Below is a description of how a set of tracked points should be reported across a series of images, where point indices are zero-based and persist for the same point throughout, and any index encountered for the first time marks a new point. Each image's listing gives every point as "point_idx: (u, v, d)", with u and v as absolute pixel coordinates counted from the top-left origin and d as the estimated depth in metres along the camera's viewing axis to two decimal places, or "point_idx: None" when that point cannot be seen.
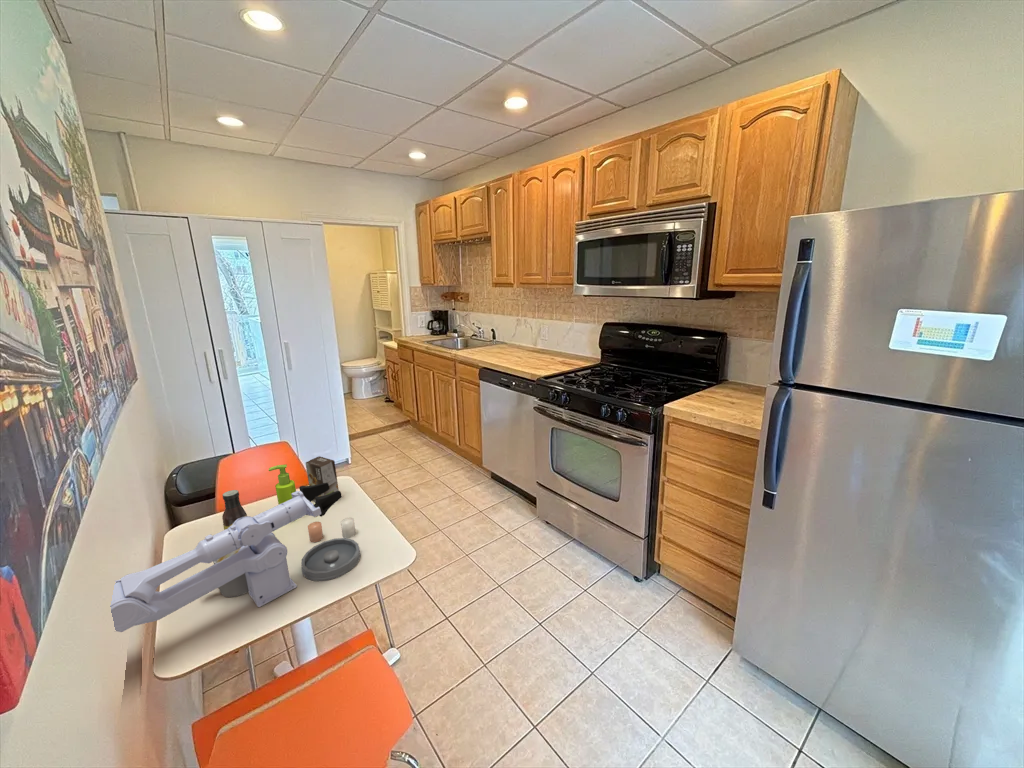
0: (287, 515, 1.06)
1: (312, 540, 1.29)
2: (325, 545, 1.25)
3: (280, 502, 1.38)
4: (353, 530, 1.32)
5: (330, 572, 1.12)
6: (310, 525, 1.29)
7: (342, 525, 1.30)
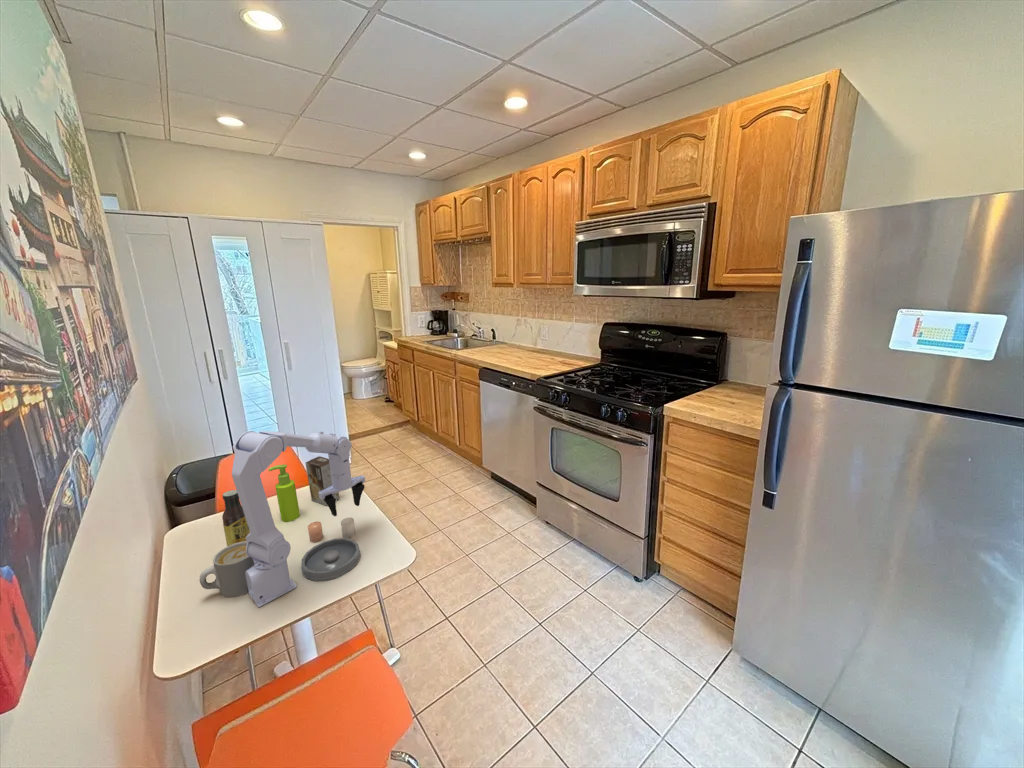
0: (348, 470, 1.26)
1: (312, 540, 1.29)
2: (325, 545, 1.25)
3: (280, 502, 1.38)
4: (353, 530, 1.32)
5: (330, 572, 1.12)
6: (310, 525, 1.29)
7: (342, 525, 1.30)
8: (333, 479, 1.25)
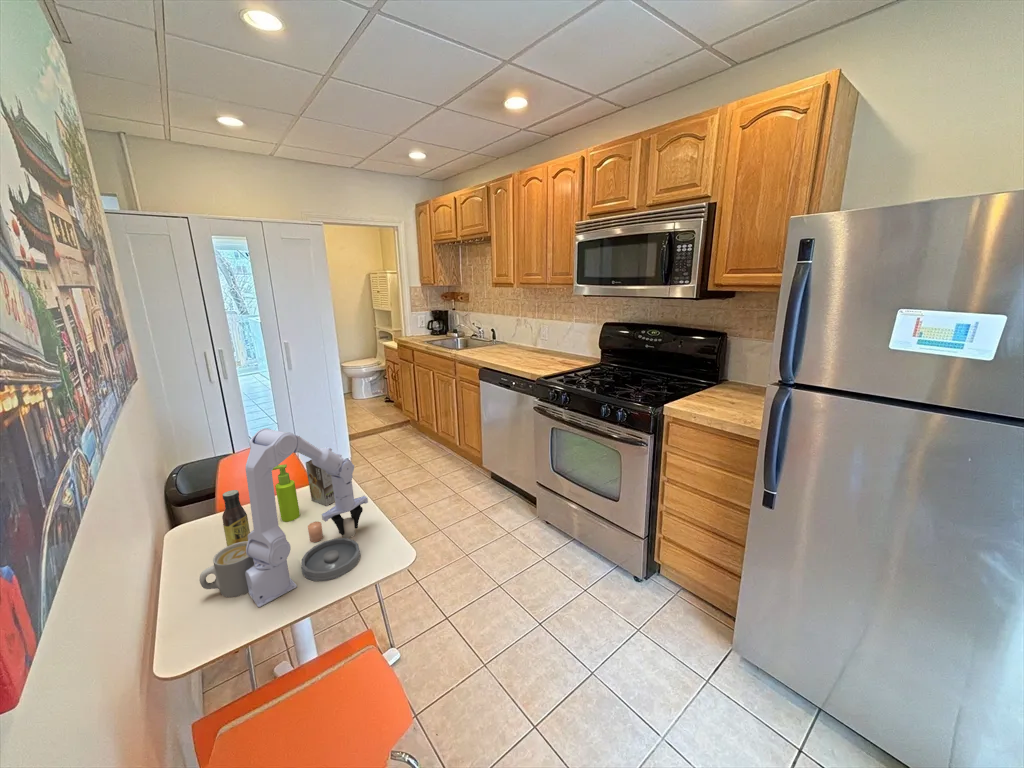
0: (351, 492, 1.28)
1: (312, 540, 1.29)
2: (325, 545, 1.25)
3: (280, 502, 1.38)
4: (353, 530, 1.32)
5: (330, 572, 1.12)
6: (310, 525, 1.29)
7: None
8: (336, 501, 1.27)
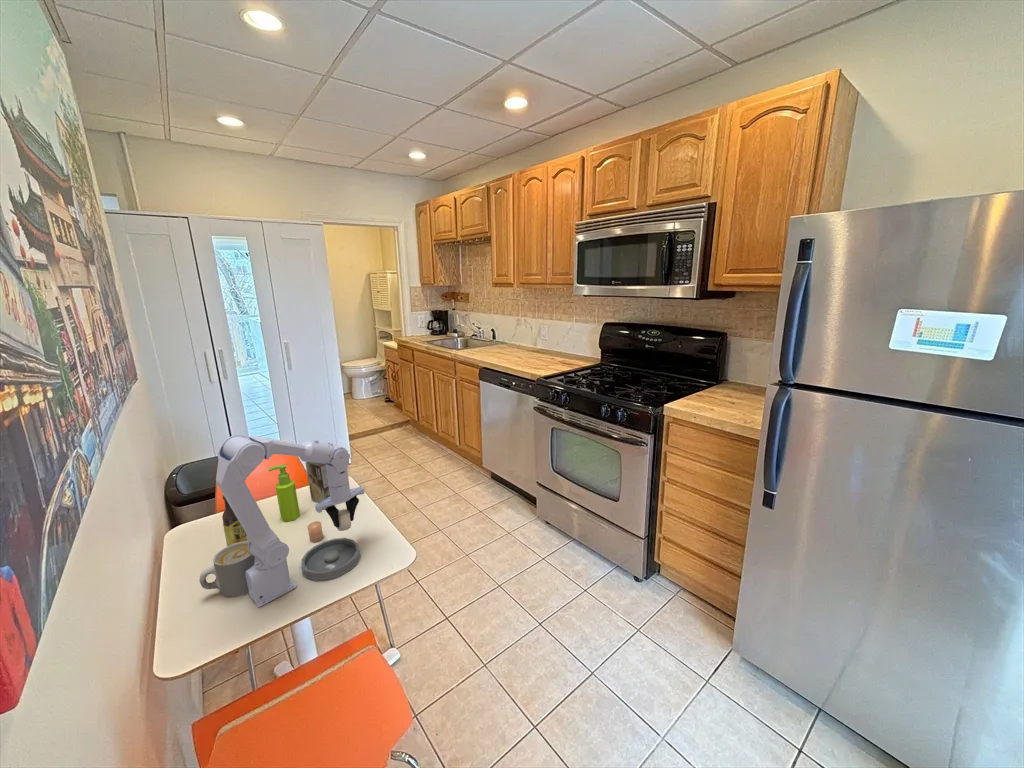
0: (346, 483, 1.20)
1: (312, 540, 1.29)
2: (325, 545, 1.25)
3: (280, 502, 1.38)
4: (349, 522, 1.24)
5: (330, 572, 1.12)
6: (310, 525, 1.29)
7: None
8: (331, 491, 1.19)
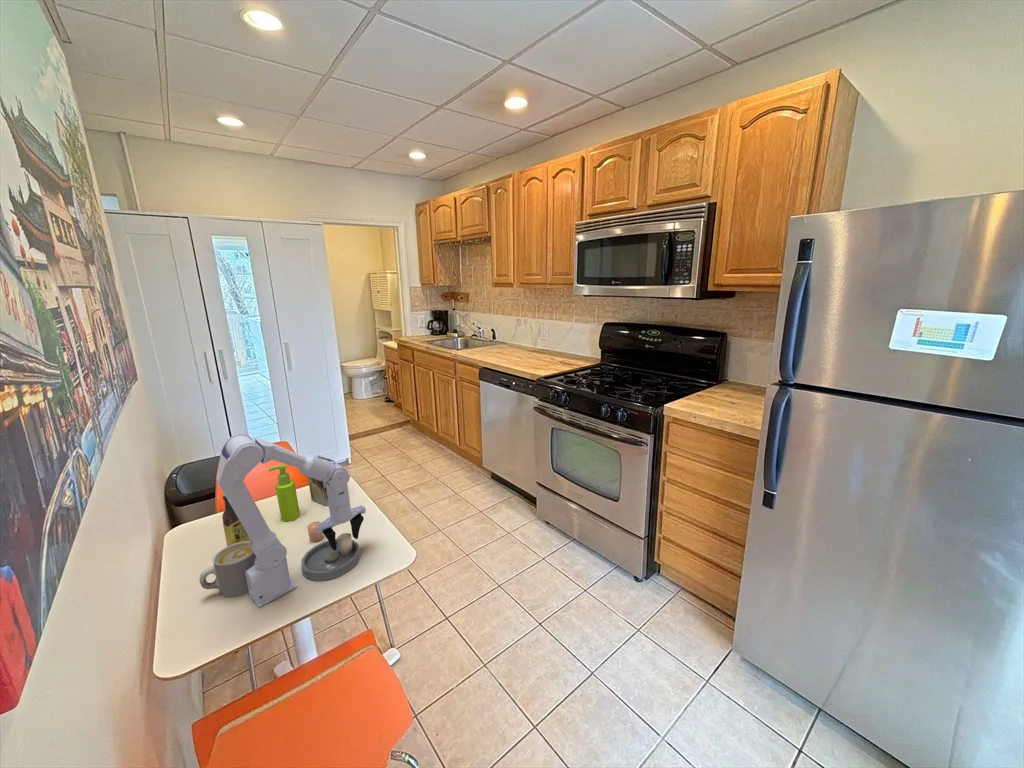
0: (345, 504, 1.17)
1: (312, 540, 1.29)
2: (325, 545, 1.25)
3: (280, 502, 1.38)
4: (350, 547, 1.22)
5: (330, 572, 1.12)
6: (310, 525, 1.29)
7: (338, 542, 1.20)
8: (331, 511, 1.16)
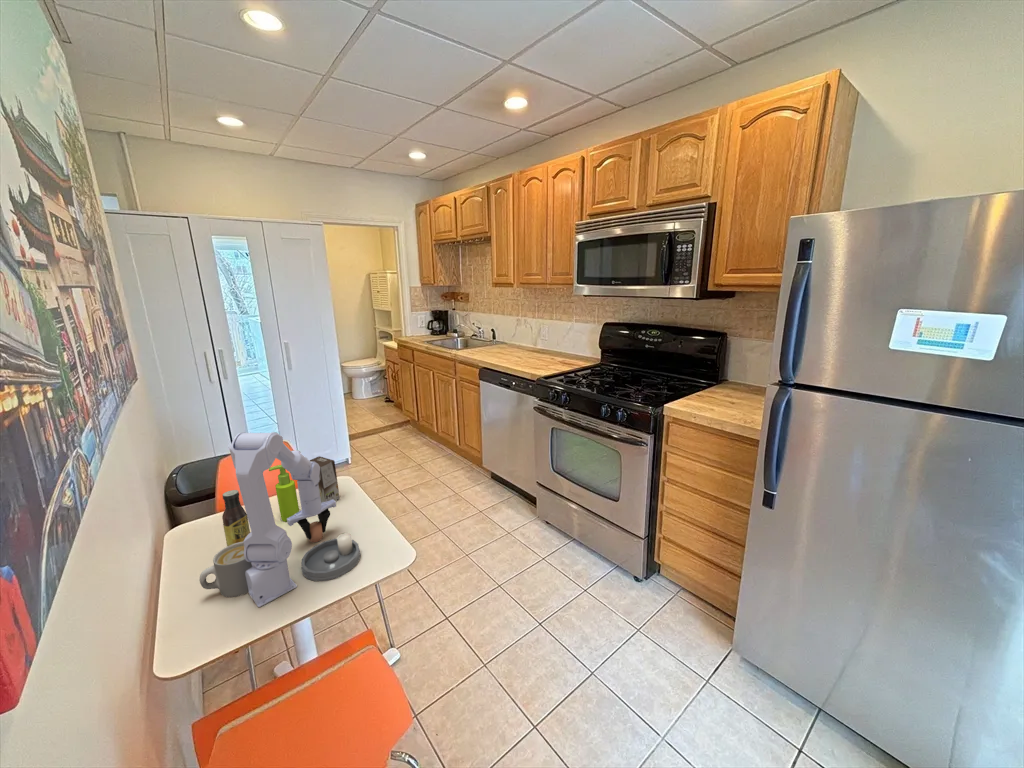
0: (319, 494, 1.27)
1: (313, 540, 1.29)
2: (325, 545, 1.25)
3: (280, 502, 1.38)
4: (350, 547, 1.22)
5: (330, 572, 1.12)
6: (310, 525, 1.29)
7: (338, 542, 1.20)
8: (302, 505, 1.25)
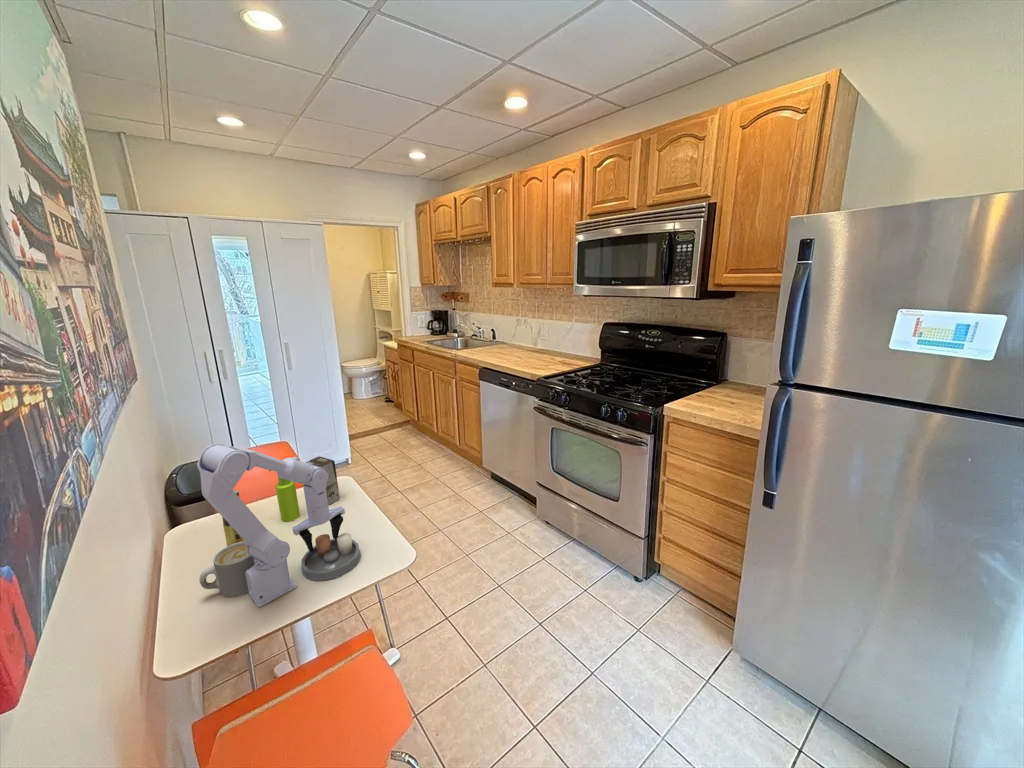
0: (325, 503, 1.17)
1: (321, 554, 1.20)
2: None
3: (280, 502, 1.38)
4: (350, 547, 1.22)
5: (330, 572, 1.12)
6: (318, 538, 1.21)
7: (338, 542, 1.20)
8: (309, 513, 1.16)
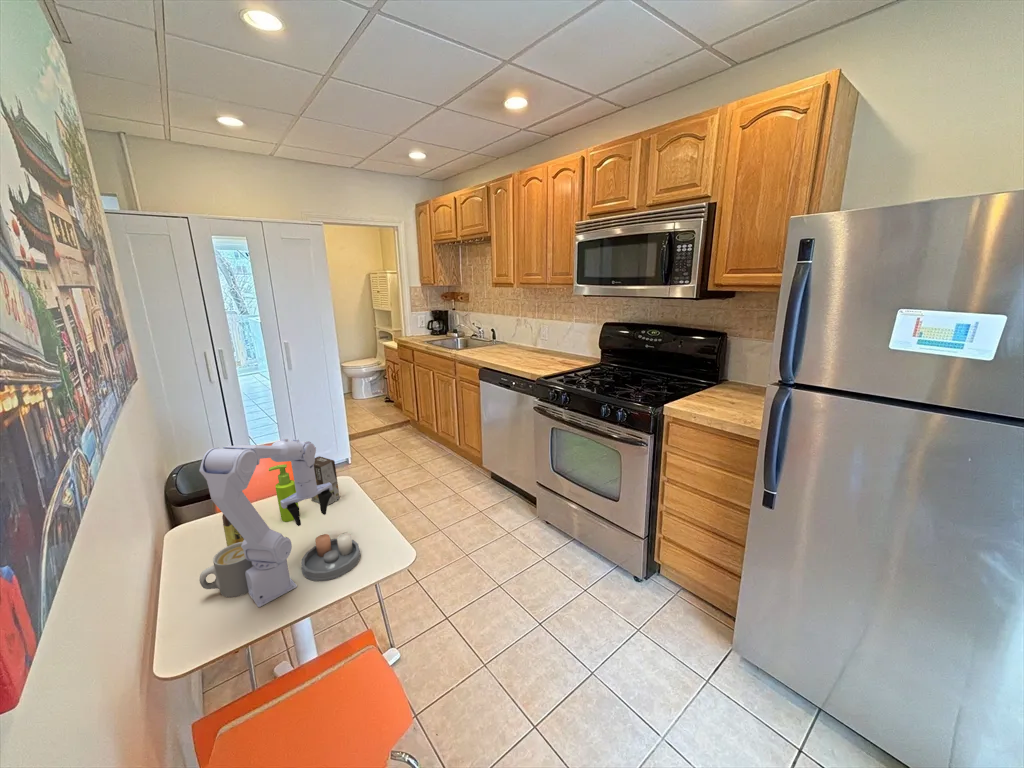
0: (314, 476, 1.21)
1: (321, 554, 1.20)
2: None
3: (280, 502, 1.38)
4: (350, 547, 1.22)
5: (330, 572, 1.12)
6: (318, 538, 1.21)
7: (338, 542, 1.20)
8: (296, 487, 1.19)
